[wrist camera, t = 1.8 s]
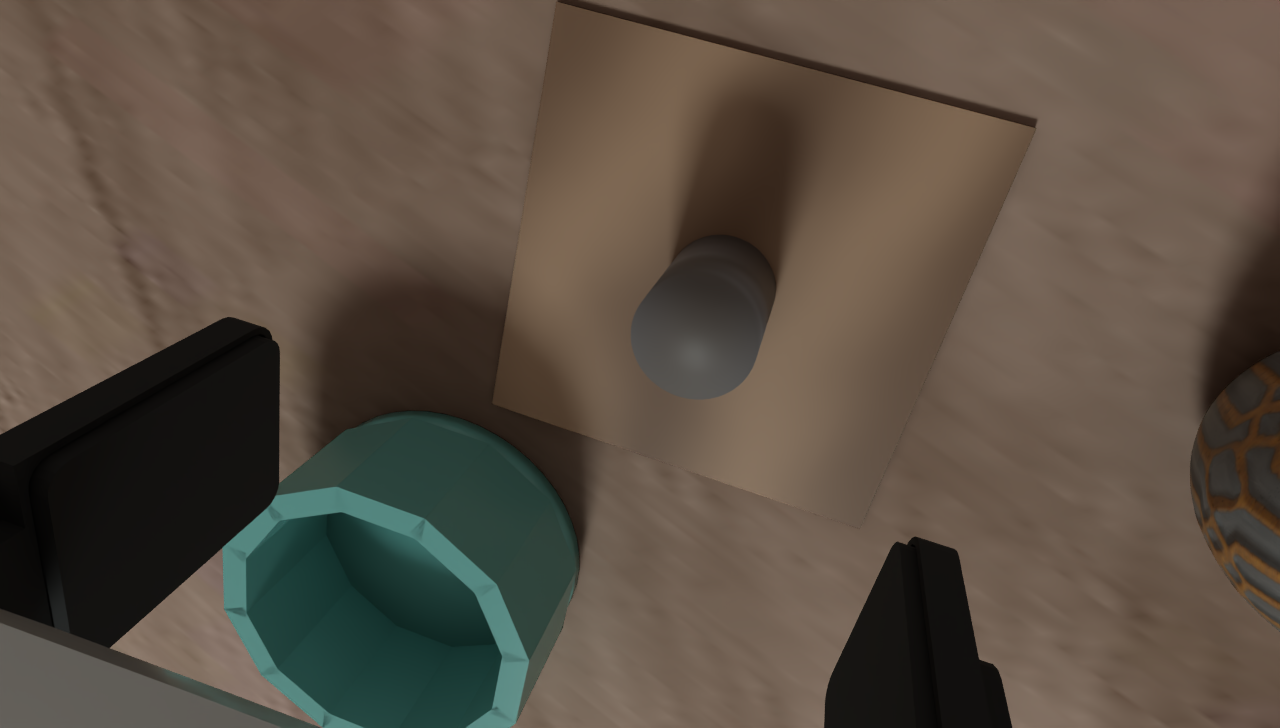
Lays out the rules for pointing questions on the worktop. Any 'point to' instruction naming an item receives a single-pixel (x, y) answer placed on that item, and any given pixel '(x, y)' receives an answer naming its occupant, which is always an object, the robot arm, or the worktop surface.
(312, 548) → the bowl
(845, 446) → the lid
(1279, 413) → the vase
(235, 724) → the robot arm
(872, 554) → the worktop surface
